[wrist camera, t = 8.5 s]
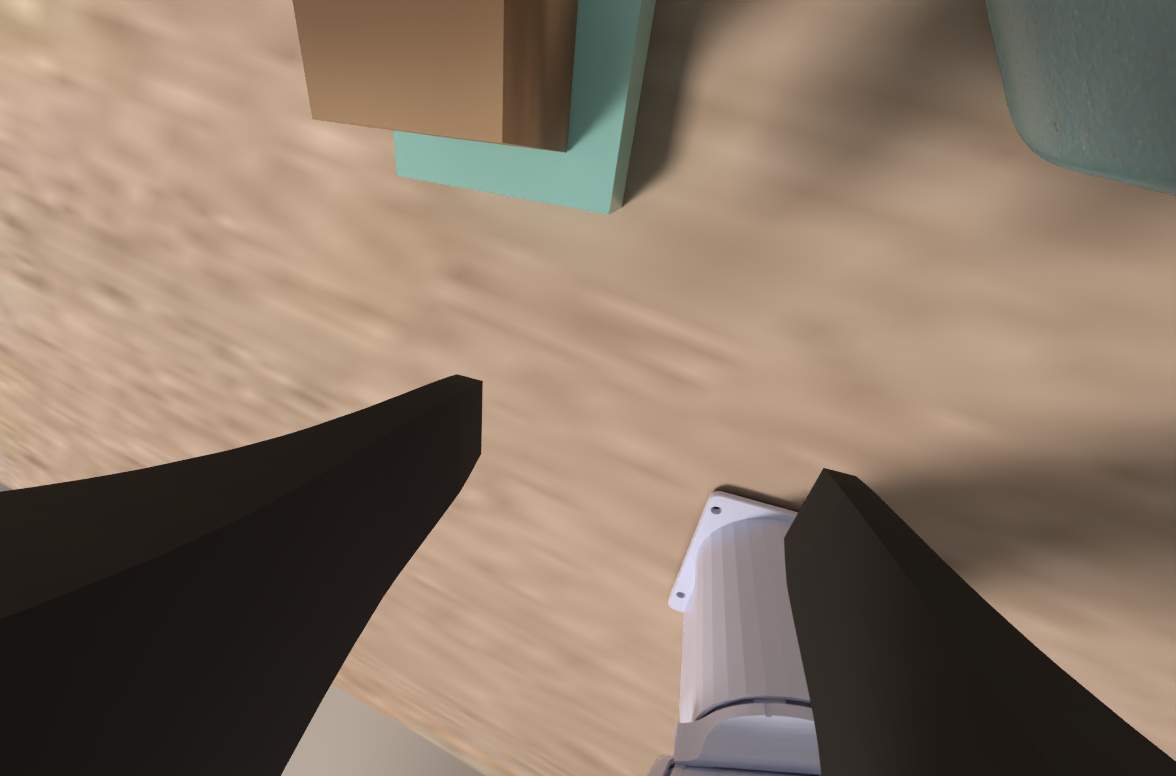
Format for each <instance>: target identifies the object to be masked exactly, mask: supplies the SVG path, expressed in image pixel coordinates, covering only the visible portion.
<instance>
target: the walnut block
mask: <svg viewBox="0 0 1176 776" xmlns="http://www.w3.org/2000/svg"><path fill="white" fill-rule="evenodd" d="M578 1H579V0H293V6H294V12H295V18H296V23H297V29H298V35H299V41H300V47H301V53H302V59H303V65H304V71H305V77H306V83H307V89H308V95H309V101H310V107H311V113H312V119H315V120H322V121H329V122H336V123H344V124H351V125H358V126H365V127H373V128H380V129H387V130H394V131H401V132H409V133H416V134H423V135H430V136H437V137H445V138H453V139H461V140H469V141H477V142H485V143H493V144H501V145H509V146H517V147H525V148H533V149H541V150H549V151H557V152H565V153H567V145H568V132H569V119H570V106H571V92H572V79H573V66H574V53H575V40H576V27H577V14H578Z"/></svg>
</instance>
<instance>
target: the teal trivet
mask: <svg viewBox="0 0 1176 776" xmlns="http://www.w3.org/2000/svg"><path fill="white" fill-rule="evenodd" d="M655 4H656V0H579V1H578V14H577V27H576V40H575V53H574V66H573V79H572V92H571V106H570V119H569V132H568V145H567V153H565V152H557V151H549V150H541V149H533V148H525V147H517V146H509V145H501V144H493V143H485V142H477V141H469V140H461V139H453V138H445V137H437V136H430V135H423V134H416V133H409V132H401V131H394V130H393V131H394V143H395V156H396V169H397V176H402V177H407V178H413V179H418V180H423V181H429V182H434V183H440V184H445V185H451V186H456V187H462V188H467V189H472V190H478V191H483V192H489V193H494V194H500V195H505V196H511V197H516V198H521V199H527V200H532V201H538V202H543V203H549V204H554V205H560V206H565V207H570V208H576V209H581V210H587V211H592V212H598V213H603V214H611V213H613V212H614V211H616V210H618V209H620V208H622V203H623V197H624V191H625V185H626V179H627V173H628V167H629V161H630V155H631V149H632V143H633V137H634V131H635V125H636V119H637V113H638V107H639V101H640V95H641V89H642V83H643V77H644V71H645V65H646V59H647V53H648V46H649V40H650V34H651V28H652V22H653V16H654V10H655Z"/></svg>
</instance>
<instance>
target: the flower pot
mask: <svg viewBox="0 0 1176 776" xmlns="http://www.w3.org/2000/svg"><path fill="white" fill-rule="evenodd" d="M984 1H985V5H986V9H987V14H988V18H989V23H990V27H991V31H992V36H993V40H994V45H995V49H996V53H997V58H998V62H999V67H1000V71H1001V76H1002V81H1003V86H1004V91H1005V96H1006V101H1007V105H1008V108H1009V111H1010V115H1011V118H1012V121H1013V123H1014V125H1015V127H1016V129H1017V131H1018V133H1019V135H1020V136H1021V138H1022V139H1023V140H1024V142H1025V143H1026V144H1027V146H1028V147H1029V148H1030V149H1031V150H1032V151H1033V152H1035V153H1036V154H1037V155H1038V156H1040V157H1041V158H1043V159H1045V160H1047V161H1048V162H1050V163H1053V164H1055V165H1057V166H1060V167H1063V168H1067V169H1070V170H1073V171H1077V172H1080V173H1084V174H1088V175H1092V176H1096V177H1100V178H1104V179H1108V180H1112V181H1117V182H1121V183H1125V184H1129V185H1133V186H1137V187H1141V188H1145V189H1149V190H1154V191H1158V192H1162V193H1167V194H1171V195H1175V196H1176V0H984Z"/></svg>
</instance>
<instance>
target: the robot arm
mask: <svg viewBox="0 0 1176 776" xmlns="http://www.w3.org/2000/svg"><path fill="white" fill-rule="evenodd" d="M482 383H483V381H480V380H476V379H473V378H469V377H465V376H461V375H454V376H450V377H447V378H444V379H441V380H438V381H436V382H433V383H430V384H428V385H425V386H422V387H420V388H417V389H415V390H412V391H410V392H407V393H404V394H402V395H399V396H397V397H394V398H391V399H389V400H386V401H384V402H381V403H378V404H376V405H373V406H371V407H368V408H365V409H362V410H360V411H357V412H354V413H351V414H348V415H345V416H342V417H339V418H336V419H333V420H330V421H328V422H325V423H322V424H319V425H316V426H313V427H310V428H307V429H304V430H300V431H297V432H294V433H291V434H287V435H284V436H280V437H277V438H273V439H270V440H266V441H262V442H258V443H255V444H251V445H247V446H243V447H240V448H236V449H232V450H228V451H224V452H219V453H214V454H210V455H205V456H200V457H196V458H191V459H187V460H182V461H177V462H173V463H168V464H163V465H159V466H154V467H149V468H145V469H139V470H134V471H129V472H123V473H117V474H112V475H106V476H100V477H94V478H89V479H83V480H76V481H70V482H63V483H57V484H51V485H44V486H38V487H31V488H24V489H17V490H10V491H3V492H0V776H281V774H282V772H283V770H284V768H285V766H286V765H287V763H288V761H289V759H290V758H291V756H292V754H293V752H294V750H295V748H296V747H297V745H298V743H299V741H300V739H301V737H302V736H303V734H304V732H305V730H306V728H307V727H308V725H309V723H310V721H311V719H312V717H313V716H314V714H315V712H316V710H317V708H318V707H319V704H320V703H321V701H322V699H323V697H324V696H325V694H326V692H327V691H328V689H329V687H330V685H331V684H332V682H333V680H334V679H335V677H336V675H337V673H338V672H339V670H340V668H341V666H342V665H343V663H344V661H345V660H346V658H347V656H348V654H349V653H350V651H351V649H352V647H353V646H354V644H355V642H356V641H357V639H358V638H359V636H360V634H361V633H362V631H363V629H364V628H365V626H366V624H367V623H368V621H369V619H370V618H371V616H372V614H373V613H374V611H375V610H376V608H377V606H378V605H379V603H380V601H381V600H382V598H383V596H384V595H385V594H386V592H387V591H388V589H389V588H390V586H391V585H392V583H393V582H394V580H395V579H396V578H397V576H398V575H399V573H400V572H401V571H402V569H403V568H404V567H405V565H406V564H407V563H408V561H409V560H410V559H411V557H412V556H413V555H414V553H415V552H416V551H417V549H418V548H419V547H420V545H421V544H422V543H423V541H424V540H425V539H426V537H427V536H428V534H429V533H430V532H431V530H432V529H433V528H434V526H435V525H436V524H437V522H438V521H439V520H440V518H441V517H442V516H443V514H444V513H445V512H446V510H447V509H448V507H449V506H450V505H451V503H452V502H453V501H454V499H455V498H456V496H457V495H458V494H459V492H460V491H461V489H462V487H463V486H464V484H465V482H466V480H467V479H468V477H469V475H470V473H471V472H472V470H473V468H474V466H475V464H476V462H477V460H478V458H479V457H480V455H481V434H482ZM712 507H719V509H714V508H712ZM668 605H669V606H670V607H671V608H672V609H674V610H677V611H680V612H683V613H684V624H683V644H682V665H681V686H680V723H677V724H676V731H675V749H674V755H663V756H661V757H660V758H658V759H657V760H656V761H655V763H654V764H653V766H652V767H651V769H650V771H649V773H648V776H1176V761H1174V760H1173V759H1172V758H1171V757H1169V756H1168V755H1167V754H1166V753H1164V752H1163V751H1162V750H1160V749H1159V748H1158V747H1157V746H1155V745H1154V744H1153V743H1152V742H1150V741H1149V740H1148V739H1147V738H1145V737H1144V736H1143V735H1142V734H1140V733H1139V732H1138V731H1136V730H1135V729H1134V728H1133V727H1131V726H1130V725H1129V724H1128V723H1126V722H1125V721H1124V720H1123V719H1122V718H1120V717H1119V716H1118V715H1117V714H1116V713H1114V712H1113V711H1112V710H1111V709H1110V708H1108V707H1107V706H1106V705H1105V704H1104V703H1102V702H1101V701H1100V700H1099V699H1097V698H1096V697H1095V696H1094V695H1093V694H1091V693H1090V692H1089V691H1088V690H1087V689H1085V688H1084V687H1083V686H1082V685H1081V684H1079V683H1078V682H1077V681H1076V680H1075V679H1073V678H1072V677H1071V676H1070V675H1069V674H1067V673H1066V672H1065V671H1064V670H1063V669H1061V668H1060V667H1059V666H1058V665H1057V664H1056V663H1054V662H1053V661H1052V660H1051V659H1050V658H1049V657H1047V656H1046V655H1045V654H1044V653H1043V652H1042V651H1041V650H1039V649H1038V648H1037V647H1036V646H1035V645H1034V644H1033V643H1031V642H1030V641H1029V640H1028V639H1027V638H1026V637H1025V636H1024V635H1023V634H1021V633H1020V632H1019V631H1018V630H1017V629H1016V628H1015V627H1014V626H1013V625H1012V624H1010V623H1009V622H1008V621H1007V620H1006V619H1005V618H1004V617H1003V616H1002V615H1001V614H999V613H998V612H997V611H996V610H995V609H994V608H993V607H992V606H991V605H990V604H988V603H987V602H986V601H985V600H984V599H983V598H982V597H981V596H980V595H979V594H978V593H977V592H976V591H975V590H974V589H972V588H971V587H970V586H969V585H968V584H967V583H966V582H965V581H964V580H963V579H962V578H961V577H960V576H959V575H958V574H957V573H956V572H955V571H954V570H953V569H952V568H951V567H950V566H948V565H947V564H946V563H945V562H944V561H943V560H942V559H941V558H940V557H939V556H938V555H937V554H936V553H935V552H934V551H933V550H932V549H931V548H930V547H929V546H928V545H927V544H926V543H925V542H924V541H923V540H922V539H921V538H920V537H919V536H918V535H917V534H916V533H915V532H914V531H913V530H912V529H911V528H910V527H909V526H908V525H907V524H906V523H905V522H904V521H903V520H902V519H901V518H900V517H899V516H898V515H897V514H896V513H895V512H894V511H893V510H892V509H891V508H890V507H889V506H888V505H887V504H886V503H885V502H884V501H883V500H882V499H881V498H880V497H879V496H878V495H876V494H875V493H874V492H873V491H872V490H871V489H870V488H869V487H868V486H867V485H866V484H865V483H863V482H862V481H861V480H860V479H859V478H857V477H856V476H853V475H849V474H845V473H841V472H837V471H833V470H829V469H825V468H823V470H822V472H821V473H820V475H819V477H818V479H817V481H816V482H815V484H814V486H813V488H812V489H811V491H810V493H809V495H808V496H807V498H806V500H805V502H804V503H803V505H802V507H801V509H800V510H799V512H794V511H791V510H787V509H784V508H780V507H776V506H773V505H769V504H765V503H762V502H758V501H755V500H751V499H747V498H744V497H740V496H737V495H733V494H729V493H726V492H722V491H715V492H713V493H711V494H710V495H709V497H708V500H707V502H706V505H705V508H704V510H703V513H702V515H701V518H700V520H699V523H698V525H697V528H696V530H695V533H694V535H693V538H692V540H691V543H690V545H689V548H688V550H687V553H686V555H685V558H684V560H683V563H682V565H681V568H680V570H679V573H678V576H677V578H676V581H675V583H674V586H673V588H672V591H671V593H670V596H669V600H668Z"/></svg>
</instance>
